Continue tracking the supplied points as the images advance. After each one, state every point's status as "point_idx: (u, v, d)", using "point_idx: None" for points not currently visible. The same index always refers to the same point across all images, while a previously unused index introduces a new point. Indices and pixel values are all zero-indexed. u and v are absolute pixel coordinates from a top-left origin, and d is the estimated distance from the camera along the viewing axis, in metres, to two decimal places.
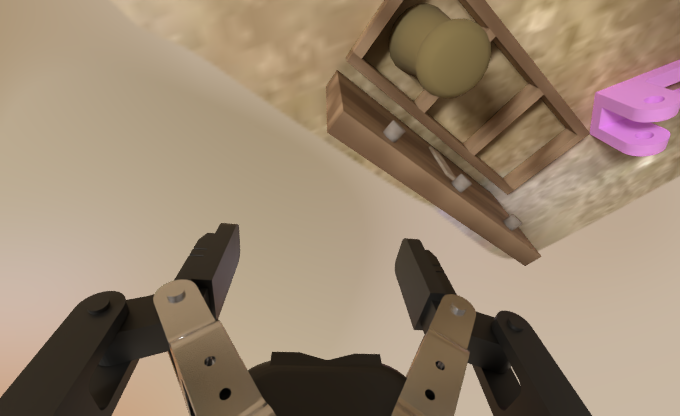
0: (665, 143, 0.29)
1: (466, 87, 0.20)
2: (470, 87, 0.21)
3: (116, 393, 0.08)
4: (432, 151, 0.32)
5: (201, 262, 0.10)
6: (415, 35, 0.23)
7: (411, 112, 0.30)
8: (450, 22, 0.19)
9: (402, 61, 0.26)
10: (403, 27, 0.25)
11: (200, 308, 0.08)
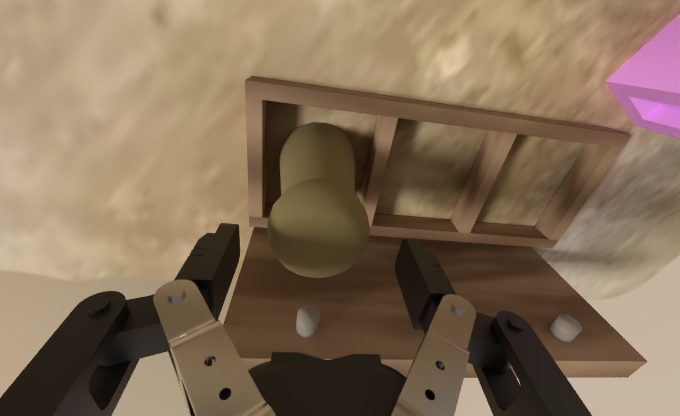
0: None
1: (351, 260, 0.14)
2: (358, 255, 0.14)
3: (116, 394, 0.08)
4: None
5: (201, 262, 0.10)
6: None
7: None
8: (278, 204, 0.13)
9: None
10: (280, 173, 0.20)
11: (200, 308, 0.08)
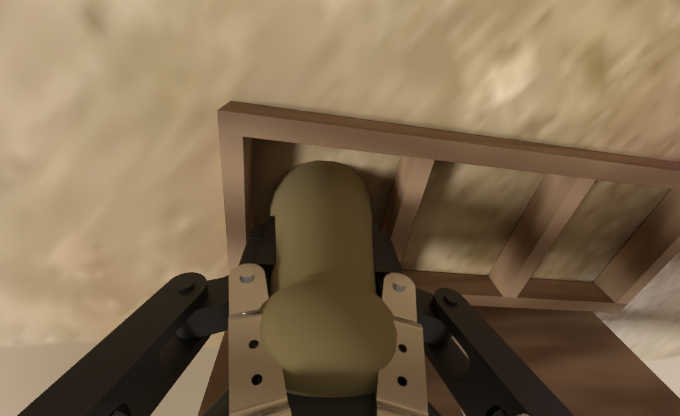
0: None
1: None
2: None
3: (181, 366, 0.09)
4: None
5: (261, 249, 0.11)
6: None
7: None
8: None
9: None
10: None
11: (261, 294, 0.09)
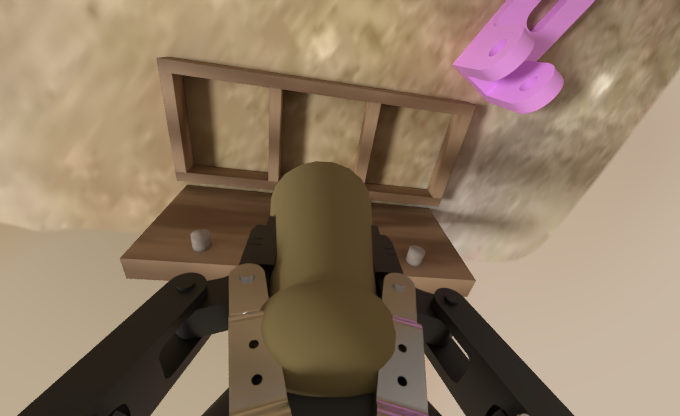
0: (554, 82, 0.21)
1: None
2: None
3: (181, 366, 0.09)
4: None
5: (261, 249, 0.11)
6: None
7: (265, 187, 0.29)
8: None
9: None
10: None
11: (261, 294, 0.09)
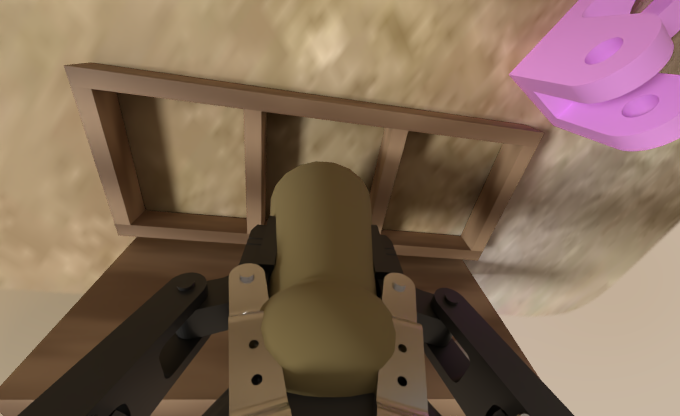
0: None
1: None
2: None
3: (181, 366, 0.09)
4: None
5: (261, 249, 0.11)
6: None
7: (244, 242, 0.21)
8: None
9: None
10: None
11: (261, 294, 0.09)
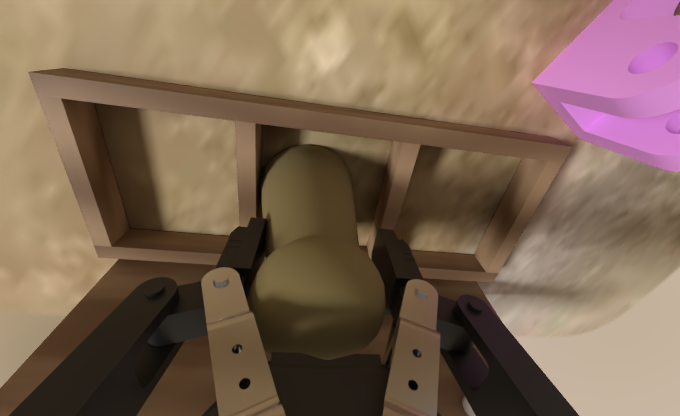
0: None
1: (362, 347, 0.10)
2: (371, 340, 0.10)
3: (157, 374, 0.09)
4: None
5: (239, 252, 0.11)
6: (265, 242, 0.13)
7: None
8: (265, 276, 0.09)
9: None
10: (262, 206, 0.16)
11: (239, 297, 0.09)
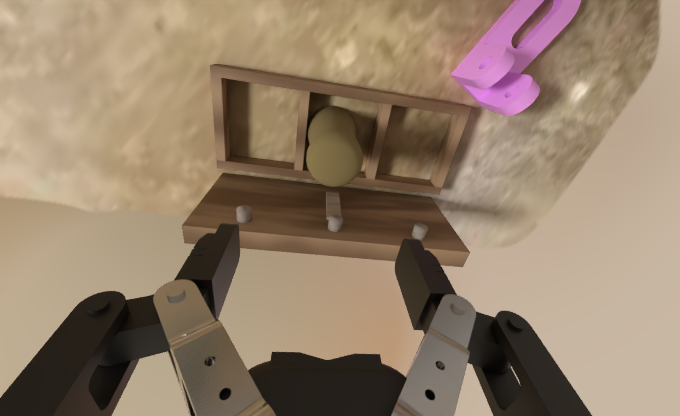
0: (531, 90, 0.26)
1: (351, 175, 0.25)
2: (355, 173, 0.25)
3: (116, 393, 0.08)
4: (326, 197, 0.34)
5: (201, 262, 0.10)
6: None
7: (291, 175, 0.34)
8: (314, 140, 0.24)
9: None
10: (308, 135, 0.31)
11: (200, 308, 0.08)
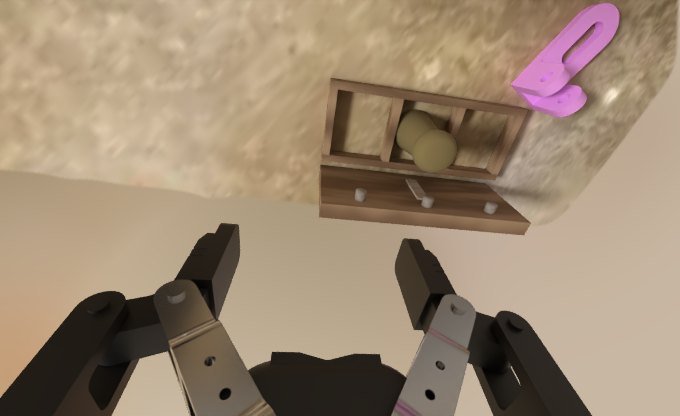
0: (581, 98, 0.34)
1: (449, 163, 0.33)
2: (451, 162, 0.33)
3: (116, 393, 0.08)
4: (407, 183, 0.42)
5: (201, 262, 0.10)
6: (407, 140, 0.37)
7: (379, 166, 0.42)
8: (423, 137, 0.32)
9: (406, 151, 0.40)
10: (399, 133, 0.39)
11: (200, 308, 0.08)
